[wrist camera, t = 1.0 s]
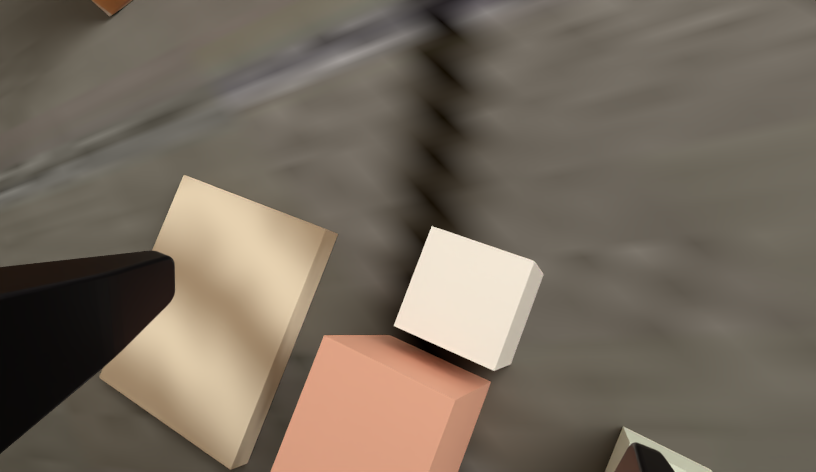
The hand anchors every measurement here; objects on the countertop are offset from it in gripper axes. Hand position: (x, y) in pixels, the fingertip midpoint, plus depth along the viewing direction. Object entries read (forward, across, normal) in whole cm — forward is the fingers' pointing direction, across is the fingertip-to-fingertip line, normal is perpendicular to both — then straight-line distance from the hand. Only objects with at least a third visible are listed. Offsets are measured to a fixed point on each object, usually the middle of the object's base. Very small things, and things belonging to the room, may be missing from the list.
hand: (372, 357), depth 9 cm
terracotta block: (+9, 0, +10) cm, 13 cm away
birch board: (+11, +12, +10) cm, 19 cm away
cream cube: (+12, -1, +5) cm, 13 cm away
